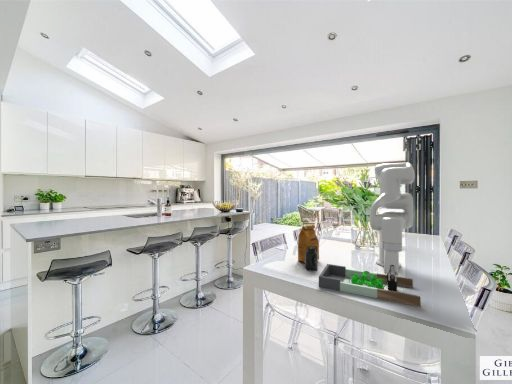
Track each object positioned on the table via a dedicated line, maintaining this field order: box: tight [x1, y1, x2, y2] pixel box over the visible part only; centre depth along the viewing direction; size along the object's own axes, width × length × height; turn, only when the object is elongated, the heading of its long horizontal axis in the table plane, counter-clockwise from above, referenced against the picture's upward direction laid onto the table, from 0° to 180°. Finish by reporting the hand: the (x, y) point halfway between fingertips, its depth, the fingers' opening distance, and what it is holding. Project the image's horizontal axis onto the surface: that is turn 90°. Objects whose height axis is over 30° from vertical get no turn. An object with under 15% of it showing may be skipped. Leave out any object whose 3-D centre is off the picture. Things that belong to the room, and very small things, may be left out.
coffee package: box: [297, 224, 320, 263], centre depth 137 cm, size 10×12×22 cm
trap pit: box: [318, 263, 347, 292], centre depth 106 cm, size 20×9×4 cm, turn 152°
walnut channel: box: [376, 272, 421, 308], centre depth 94 cm, size 20×14×4 cm
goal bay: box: [339, 268, 378, 299], centre depth 101 cm, size 20×14×4 cm
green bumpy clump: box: [348, 270, 387, 290], centre depth 100 cm, size 15×15×7 cm
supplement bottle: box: [304, 246, 319, 271], centre depth 123 cm, size 7×7×12 cm
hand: (391, 286), depth 95 cm, fingers open, 9 cm apart
